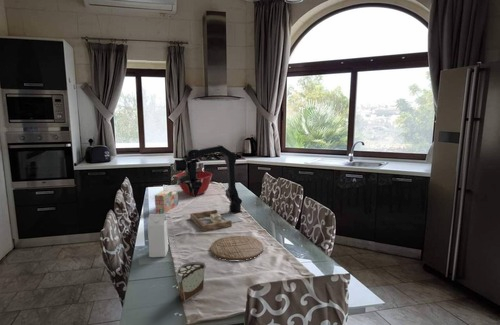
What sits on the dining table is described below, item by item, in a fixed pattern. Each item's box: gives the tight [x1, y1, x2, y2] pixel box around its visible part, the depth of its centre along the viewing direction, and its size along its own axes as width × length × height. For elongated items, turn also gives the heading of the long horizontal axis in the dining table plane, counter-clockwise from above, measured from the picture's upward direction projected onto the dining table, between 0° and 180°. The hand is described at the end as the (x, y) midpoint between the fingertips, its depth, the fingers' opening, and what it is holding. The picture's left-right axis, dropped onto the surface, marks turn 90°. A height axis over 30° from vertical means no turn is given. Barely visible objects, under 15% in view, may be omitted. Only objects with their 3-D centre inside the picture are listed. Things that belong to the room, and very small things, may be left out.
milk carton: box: [147, 213, 169, 258], centre depth 141 cm, size 7×7×19 cm
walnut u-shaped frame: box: [189, 209, 233, 232], centre depth 184 cm, size 17×24×3 cm
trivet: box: [210, 235, 264, 261], centre depth 148 cm, size 25×25×2 cm
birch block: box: [209, 212, 222, 223], centre depth 186 cm, size 5×5×4 cm
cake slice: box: [175, 261, 206, 303], centre depth 111 cm, size 12×6×10 cm, turn 145°
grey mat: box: [220, 213, 244, 224], centre depth 191 cm, size 9×15×1 cm, turn 27°
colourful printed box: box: [154, 190, 179, 214], centre depth 210 cm, size 21×6×12 cm, turn 168°
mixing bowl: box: [175, 170, 213, 196], centre depth 250 cm, size 28×28×16 cm
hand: (192, 195), depth 189 cm, fingers open, 9 cm apart
